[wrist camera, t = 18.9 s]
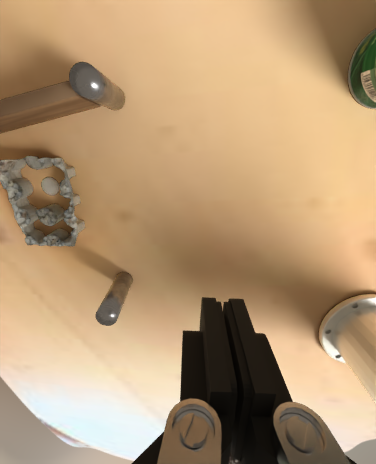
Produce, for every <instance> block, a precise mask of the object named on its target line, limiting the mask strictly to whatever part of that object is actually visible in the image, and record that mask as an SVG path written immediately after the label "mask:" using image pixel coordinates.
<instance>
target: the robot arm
mask: <svg viewBox="0 0 376 464" xmlns="http://www.w3.org/2000/svg"><path fill="white" fill-rule="evenodd" d="M319 340H320V343H321V345H322V347H323V348H324V350H325V351H326V353H327V354H328V355H329V356H330V357H332V358H333V359H335V360H337V361H340V362H343V363H347V365H348V366H349V368H350V369H351V370H352V372H353V373H354V374H355V376H356V377H357V379H358V380H359V381H360V383H361V384H362V386H363V387H364V388H365V390H366V391H367V393H368V394H369V395H370V397H371V398H372V399H373V401H374V402H375V404H376V294H364V295H358V296H355V297H351V298H349V299H347V300H344V301H343V302H341V303H339V304H338V305H336V306H335V307H334V308H333V309H331V310H330V311H329V313H328V314H327V315H326V316H325V318H324V319H323V321H322V323H321V326H320V329H319ZM230 451H231V456H232V459H233V460H238V464H356V463H355V462H354V461H352V460H351V459H349V457H347V456H346V455H345V454H344V452H343V451H342V449H341V447H340V446H339V444H338V443H337V441H336V439H335V438H334V436H333V435H332V433H331V431H330V430H329V428H328V427H327V425H326V424H325V422H324V421H323V420H322V419H321V417H320V416H319V415H317V414H316V413H315V412H314V411H313V410H312V409H310V408H308V407H307V406H305V405H303V404H299V403H296V402H293V401H292V399H291V396H290V394H289V391H288V389H287V386H286V384H285V381H284V379H283V376H282V374H281V371H280V369H279V366H278V364H277V361H276V359H275V356H274V354H273V352H272V349H271V347H270V344H269V342H268V339H267V337H266V335H265V334H262V333H255V331H254V328H253V325H252V323H251V320H250V317H249V314H248V311H247V308H246V305H245V303H244V300H243V299H229V301H228V302H224V306H223V311H222V306H221V302H216V298H203V297H202V303H201V317H200V331H183V342H182V367H181V395H180V402H179V403H178V404H176V405H175V406H174V407H173V409H172V410H171V411H170V413H169V416H168V418H167V421H166V426H165V430H164V432H163V433H162V434H161V435H160V436H159V437H158V438H157V439H156V440H155V441H154V442H153V443H152V444H151V445H150V446H149V447H148V448H147V449H146V450H145V451H144V452H143V453H142V454H141V455H140V456H139V457H138V458H137V459H136V460H135V461H134V462H133V463H132V464H228V463H229V457H230Z"/></svg>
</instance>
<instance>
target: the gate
mask: <svg viewBox="0 0 376 464" xmlns="http://www.w3.org/2000/svg"><path fill="white" fill-rule="evenodd" d="M97 107H100V104H98V103H96V102H94V101H91V100H89V99H87V98H85V97H83V96H80V95H79V94H77V93H76V92H75V91H74V90H73V88H72V86H71V84H70V81H66V82H62V83H59V84H55V85H52V86H48V87H45V88H41V89H37V90H34V91H30V92H27V93H23V94H20V95H16V96H13V97H9V98H5V99H2V100H0V133H3V132H7V131H11V130H15V129H18V128H22V127H26V126H29V125H33V124H37V123H41V122H44V121H48V120H52V119H56V118H59V117H63V116H67V115H70V114H74V113H78V112H82V111H85V110H89V109H93V108H97Z"/></svg>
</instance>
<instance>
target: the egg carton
mask: <svg viewBox="0 0 376 464" xmlns="http://www.w3.org/2000/svg"><path fill="white" fill-rule="evenodd" d="M26 163H27V165H28V166H29V167H31V168H33V169H36V170H39V169H44V168H49V167H51V166H52V165H54V166H56V167H58V168H60V169H61V170H63V172H64V173H65V179H64V180H62V181H61V182H60V187H59V184H58V182H57V181H56V180H55V179H54V178H52V177H46V178H44V179H43V180H42V182H41V186H42V189H43V191H44V192H45V193H47V194H48V195H56V194H57V193H58V192H59V188H60V191H61V192H60V195H62V196H63V197H64V198H71V201H70V202H69V204H70V205H72V207H71V206H69V207H68V209H67V210H66V211H65V210H64V209H63V208H62V207H61V206H60V205H58V204H52V205H49V206H47V207H44V208H41V209H39V210H38V209H37V208H36V207H35V206H33V205H30V203H29V201H28V198H27V196H29V195H31V194H32V192H33V186H32V184H31V182H30V181H29V180H27V179H25V178H22V175H21V169H22V168H24V167H25V165H26ZM73 176H76V173H75V169H74V167H70V166H68V165H67V164H66V163H65V162H64V160H63V159H62V158H40V159H39V158H38V157H36V156H26V157H25V158H23V159H17V160H0V182H1V184H2V186H3V189H6V190H7V191H8V199H9V202H10V203H11V204H12V208H13V210H14V216H15V219H16V221H17V223H18V224H19V226H20V228H21V229H22V232H23V233H24V234H25V235H26V238H25V242H26V243H27V245H33V244H38V245H39V246H44V245H48V246H75V243H76V238H77V237H78V233H79V232H80V231H82V230H83V229H84V228H85V223H84V221H82V220H79V219H78V218H76V217H75V215H74V207H75V206H76V205H78V204H80V203H81V201H80V196H79V195H77V194H74V193H73V190H72V187H71V184H70V181H69V179H70V178H71V177H73ZM38 219H39V220H40V222H42V223H43V224H45V225H48V226H53V225H55V224H56V223H58V222H60V221H61V220H62V219H64V221H65V222H66V224H67V225H69V226H70V227H73V228H74V229H73V230H72V231H71V235H72V236H71V235H70V234H69V233H68V232H67V231H66V230H64V229H56V230H55V231H53V232H52V233H50V234H49V235H47V236H45V235H44V233H43V232H42V231H40V230H38V229H35V227H34V222H35V221H37V220H38Z"/></svg>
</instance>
